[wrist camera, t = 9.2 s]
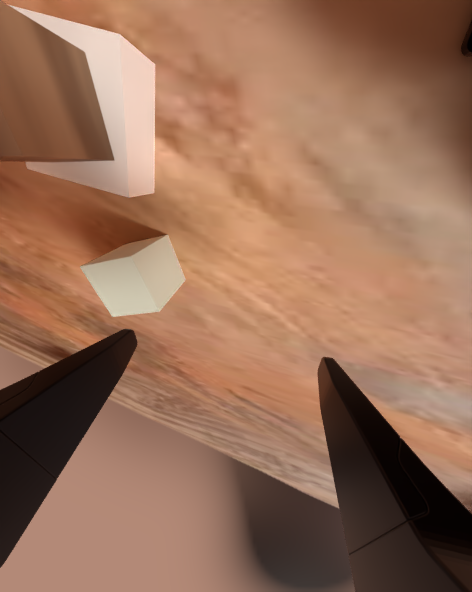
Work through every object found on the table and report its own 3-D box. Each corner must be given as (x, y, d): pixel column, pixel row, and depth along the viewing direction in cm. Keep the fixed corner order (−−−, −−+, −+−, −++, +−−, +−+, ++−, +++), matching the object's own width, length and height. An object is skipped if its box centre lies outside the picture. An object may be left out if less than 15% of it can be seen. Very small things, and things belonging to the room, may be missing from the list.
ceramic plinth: (157, 66, 14) (119, 34, 11) (156, 192, 18) (129, 197, 15) (47, 36, 14) (-23, -4, 11) (72, 169, 19) (27, 169, 15)
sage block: (168, 234, 20) (131, 256, 15) (185, 279, 22) (159, 311, 17) (126, 243, 21) (79, 266, 16) (147, 285, 24) (112, 316, 19)
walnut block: (85, 51, 11) (-70, -43, 6) (114, 160, 14) (22, 155, 9) (11, 61, 12) (-179, -16, 7) (52, 162, 15) (-65, 158, 10)
